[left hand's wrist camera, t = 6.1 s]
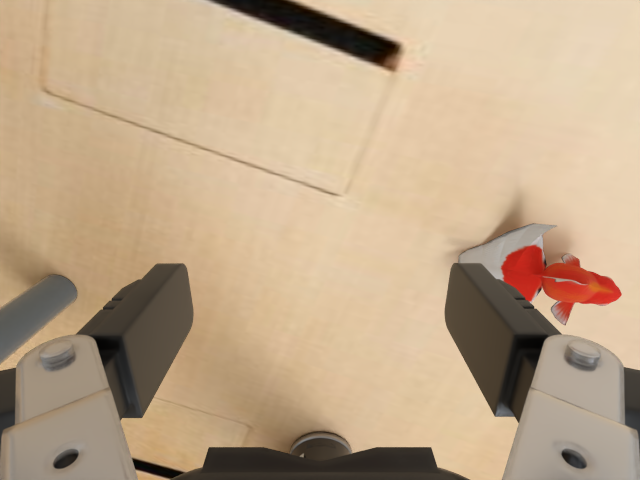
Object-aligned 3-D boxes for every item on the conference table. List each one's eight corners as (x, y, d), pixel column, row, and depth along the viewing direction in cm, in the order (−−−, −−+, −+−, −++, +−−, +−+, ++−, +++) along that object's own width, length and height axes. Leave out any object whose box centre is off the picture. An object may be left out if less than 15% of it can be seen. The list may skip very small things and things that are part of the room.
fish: (561, 355, 42) (606, 375, 33) (437, 285, 46) (446, 284, 37) (608, 275, 42) (668, 272, 33) (480, 212, 46) (500, 192, 37)
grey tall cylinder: (44, 269, 44) (-100, 361, 29) (80, 282, 44) (-41, 379, 29) (38, 297, 45) (-102, 398, 30) (73, 310, 46) (-46, 416, 31)
